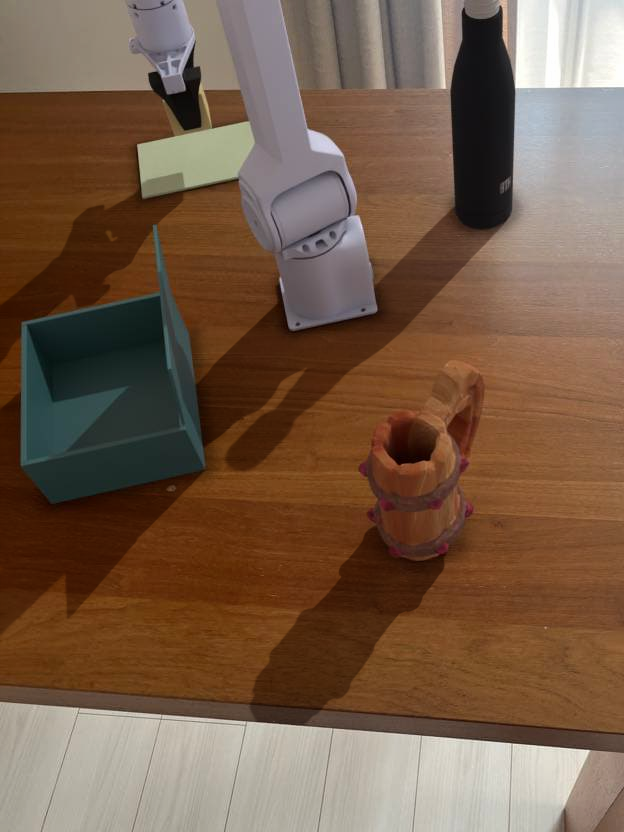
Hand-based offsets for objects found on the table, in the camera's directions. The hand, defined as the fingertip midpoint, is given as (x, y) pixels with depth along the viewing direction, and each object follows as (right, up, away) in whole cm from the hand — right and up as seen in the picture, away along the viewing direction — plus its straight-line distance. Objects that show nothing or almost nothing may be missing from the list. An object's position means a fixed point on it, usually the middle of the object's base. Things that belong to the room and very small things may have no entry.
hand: (190, 114), depth 103 cm
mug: (+28, -47, -22) cm, 59 cm away
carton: (-3, -37, -13) cm, 39 cm away
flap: (+3, -30, -23) cm, 38 cm away
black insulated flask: (+34, -12, -3) cm, 36 cm away
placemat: (0, -3, +5) cm, 6 cm away
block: (0, -1, +1) cm, 1 cm away
